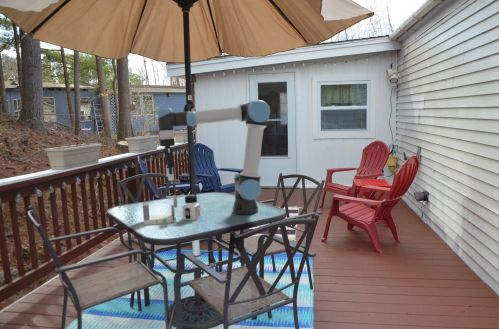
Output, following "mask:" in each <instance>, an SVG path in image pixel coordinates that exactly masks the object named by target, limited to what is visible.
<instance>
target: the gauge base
mask: <svg viewBox="0 0 499 329" xmlns="http://www.w3.org/2000/svg"><path fill="white" fill-rule="evenodd" d="M142 215H143V225H144V226H146V225H147V226H149V225H157V224H158V225H159V224H169V223H177V216H176V215H175V216H174V220H175V221H173V216H172V214H171V213H167V214H155V215H150V203H149V201H145V202H142Z"/></svg>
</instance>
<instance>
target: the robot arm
mask: <svg viewBox="0 0 499 329" xmlns="http://www.w3.org/2000/svg"><path fill="white" fill-rule="evenodd" d="M270 115H271V108H270V105H269V104H268V103H267V102H266V101H264V100H260V99H256V100H252V101H250V102H247V103H243V104H237V106H235V107H234V106H231V107H222V108H214V109H204V110H203V109H202V110H195V111H194V110H193V111H190V110H188V111H177V112H176V111H175V112H174V111H173V109H172V108H159V109H158V110H157V122H158V133H157V134H158V135H159V146H160V147H163V148H164V149H163V154H164V162H165V173H166V178H168V181H174V180H175V177H174V163H173V149H172V148H171V147H173V146H175V142H176V141H175V139H174V138H175V130H174V128H175V127H192V126H196V125H204V124H205V125H206V124H215V123H222V122H232V121H233V122H234V121H239V122H245V126H246V127H247V132H246V133H247V134H246V141H245V150H244V151H245V152H244V159H243V166H242V167H243V168H242V171H241V172H240V173H234V178H233V180H234V203H233V206H232V213H233V214H236V215H242V216H243V215H244V216H245V215H253V214H257V213H258V212H259V207H258V206H259V205H258V203H257V201H256V199H257V198H259V197H260V195H261V192H262V187H261V177H262V175H261V174H260V173H259V170H260V169H259V168H260V161H261V155H262V154H261V153H262V145H263V135H264V130H265V128H268V127H267V125H268V120H269V119H270V117H271V116H270Z"/></svg>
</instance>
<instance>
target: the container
mask: <svg viewBox="0 0 499 329" xmlns="http://www.w3.org/2000/svg"><path fill="white" fill-rule="evenodd" d="M200 217H201V204H200V203H198V199H197V195H195V194H188V195H186V196H184V205H183V206H182V220H183V221H196V220H198V219H199V218H200Z"/></svg>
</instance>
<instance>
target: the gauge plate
mask: <svg viewBox="0 0 499 329" xmlns="http://www.w3.org/2000/svg"><path fill="white" fill-rule="evenodd" d="M172 198H173V199H172V202H173V205H172V204H171V205H170V209H171V212H170V214H172V216H173V221H175V220H174V216H176V213H175V209H176V208H178V198H177V196H176V195H175V194H174V195H172Z"/></svg>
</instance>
